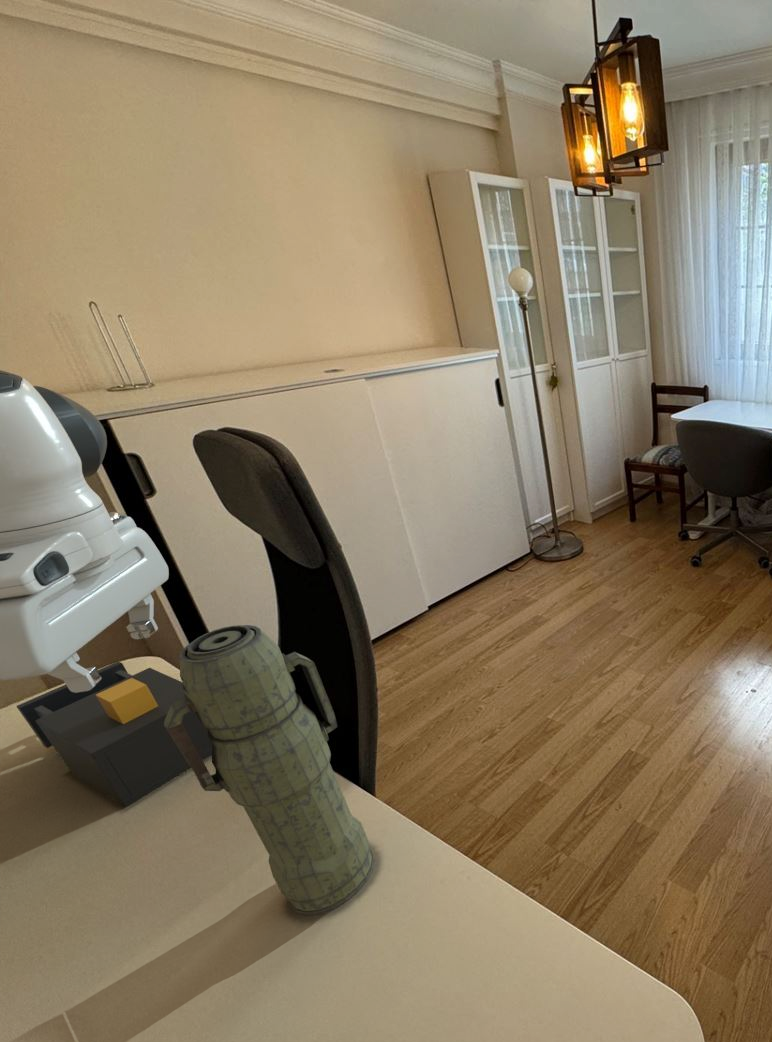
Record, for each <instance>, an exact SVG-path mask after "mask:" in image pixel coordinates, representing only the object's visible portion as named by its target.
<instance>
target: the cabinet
mask: <svg viewBox="0 0 772 1042" xmlns="http://www.w3.org/2000/svg"><path fill="white" fill-rule="evenodd" d="M131 675H132V674H131ZM130 678H133V679H135V680H137V681H139V682H141V683H144V684H146V685H147V687H148V689H149V690H150V692H151V694H152V696H153V698H154V699H155V701H156V703H157V705H158V707H156V708H154V709H152V710H150V711H148V712H146V713H144V714H143V715H141V716H139V717H137V718H135V719H133V720H131V721H129V722H127V723H125V724H122V723H120V722H118V721H116V720H114V719H112V718H110V717H109V716H108V715H107V713H106V711H105V710H104V708H103V707H102V705H101V703H100V702H99V700H98V698H97V697H96V694H98V693H100V692H102V691H105V690H107V689H109V688H111V687H113V686H115V685H118V684H120V683H122V682H124V681H126V680H128V679H130ZM184 696H185V692H184V690H183V682H182V680H181V681H180V680H179V679H177V678H174V677H172V676H169V675H167V674H165V673H163V672H161V671H158V670H156V669H154V668H152V667H148V668H146V669H143V670H141V671H139V672H136V673H135V674H133V675H132V676H130V677H128V678H126V679H124V680H122V681H119V682H117V683H115V684H113V685H111V686H109V687H106V688H104V689H102V690H100V691H98V692H96V693H94V694H91V695H89V696H87V697H85V698H83V699H81V700H78V701H76V702H74V703H72V704H70V705H68V706H65V707H63V708H61V709H59V710H57V711H55V712H52V713H50V714H48V715H46V716H44V717H42V718H39V719H37V720H35V721H36V723H37V724H38V725H39V727H40V728H41V730H42V731H43V733H44V734H45V736H46V737H47V738H48V740H49V741H50V743H51V744H52V746H51V747H53V749H54V750H55V751H56V753H57V754H58V757H60V759H61V760H62V761H63V764H64V765H65V766H66V767H67V769H68V770H69V772H71V773H72V774H74V775H75V776H76V777H78V778H80V779H81V780H83V781H85V782H86V783H87V784H89V785H90V786H93V787H94V788H96V789H97V790H98V791H100V792H102V793H103V794H105V795H107V796H108V797H110V798H111V799H113V800H114V801H116V802H117V803H119V804H120V805H122V806H123V807H125V808H127V807H128V806H130V805H132V804H133V803H135V802H137V801H138V800H140V799H141V798H143V797H145V796H147V795H148V794H150V793H151V792H153V791H154V790H156V789H158V788H159V787H162V786H163V785H164V784H167V782H170V781H171V780H173V779H174V778H176V777H177V776H179V775H181V774H183V773H184V772H186V771H187V770H189V769H192V768H191V767H190V765H189V763H188V762H187V760H186V759H185V757H184V756H183V754H182V753H181V751H180V749H179V748H178V746H177V745H176V743H175V742H174V740H173V738H172V737H171V735H170V734H169V732H168V731H167V729H166V727H165V726H164V720H165V718H166V716H167V713H168V711H169V709H170V707H171V704H172V703H174V702H175V701H177V700H179V699H181V698H182V697H184ZM182 725H183V726H184V728H185V730H186V732H187V734H188V735H189V737H190V739H191V741H192V742H193V744H194V746H195V748H196V750H197V751H198V753H199V755H200V757H201V759H202V760H203V761H204V760H205V759H207V758H208V757H210V756H212V743H211V741H210V739H209V738H208V729H207V728H205V727H204V726H203V725H202V724H201V722H200V720H199V719H198V717H197V715H196V713H194V712H193V711H190V712H188V713H186V714H184V717H183V721H182Z"/></svg>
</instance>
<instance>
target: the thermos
mask: <svg viewBox="0 0 772 1042" xmlns="http://www.w3.org/2000/svg"><path fill="white" fill-rule="evenodd" d="M298 665H300V666H301V669H302V670H303V674H304V676H305V678H306V681H307V684H308V685H309V688H310V691H311V693H312V695H313V698H314V700H315V703H316V705H317V708H318V710H319V712H320V715H321V717H322V719H323V721H320V720H319V719H318V717H317V715H316V712H314V711H313V710H312V709H310V708H309V707H308V706H307V705H306V704H305V703H304V702H303V700H302V698H301V696H300V694H298V692H296V690H297V688H296V685H295V682H294V679H293V677H292V674H291V673H292V672H294V671H296V668H295V667H296V666H298ZM179 677H180V680H181V682H183V690H184V692H185V696H184V697H182V698H181V699H179V700H177V701H175V702H174V703H172V704H171V707H170V709H169V711H168V713H167V716H166V718H165V720H164V726H165V727H166V729H167V731H168V732H169V734H170V735H171V737H172V738H173V740H174V742H175V743H176V745H177V746H178V748H179V749H180V751H181V753H182V754H183V756H184V757H185V759H186V760H187V762H188V763H189V765H190V767H191V768H190V769H191V770H192V772H193V773H194V775H195V777H196V780H197V781H198V783H199V785H200V787H201V788H202V789H203V790H204V792H220V791H222V790H225V792H226V793H228V795H229V797H230V798H231V799H232V800H233V802H235V803H236V805H239V806H241V807H243V809H244V811H245V812H246V814H247V816H248V819H249V820H250V822H251V824H252V826H253V827H254V829H255V831H256V833H257V835H258V837H259V839H260V841H261V842H262V844H263V846H264V849H265V850H266V852H267V853H268V864H269V868H270V872H271V875H272V877H273V879H274V881H275V883H276V885H277V887H278V888H279V890H280V893H281V894H282V895H283V896H284V897H285V898H286V899H287V900H288V901H289V905H290V907H291V908H292V909H293V910H294V911H295V912H296V913H298V914H300V915H304V916H316V915H321V914H324V913H327V912H330V911H332V910H334V909H337V908H338V907H339V906H342V905H343V904H345V903H347V902H348V901H350V900H351V898H353V897H354V896H356V894H357V893H358V892H360V890H361V889H362V888H363V887H364V886H365V884H366V883H367V882H368V880H369V878H370V877H371V874H372V873H373V870H374V865H375V858H374V855H373V852H372V850H371V849H370V847H371V844H370V841H369V838H368V835H367V834H366V830H365V828H364V826H363V824H362V821H360V820H359V819H358V818H357V817H355V816H354V815H352V813H351V810H350V808H349V805H348V802H347V800H346V798H345V796H344V794H343V791H342V789H341V786H340V784H339V781H338V778H337V776H336V775H335V772H334V770H333V767H332V765H331V763H330V762H331V757H332V753H331V750H330V746H329V744H328V742H329V740H330V738H329V735H328V734H329V733H331V732H332V731H334V730H335V729H337V728H338V722H337V718H336V715H335V712H334V709H333V706H332V703H331V701H330V699H329V696H328V694H327V692H326V689H325V686H324V684H323V681H322V679H321V676H320V674H319V671H318V669H317V666H316V663H315V662H314V661H313V660H311V659H310V658H309V657H307V656H305V655H303V654H300V653H298V652H296V651H292V652H291V653H289V654H285V653H284V652H283V653H282V651H281V649H280V646H279V645H278V644H277V643H276V642H275V641H274V640H273V639H272V638H271V637H270V636H269V635H268V634H266V633H265V632H264V631H263V630H262V629H261V628H259V627H258V626H256V625H249V624H243V625H241V624H239V625H230V626H224V627H220V628H218V629H214V630H211V631H209V632H206V633H204V634H202V635H200V636H198V637H197V638H196V639H194V640H193V641H191V642H190V643H188V644H187V645H185V646H184V648H183V649H182V650H181V651H180V652H179ZM190 711H193V712H194V713H196V715H197V717H198V719H199V720H200V722H201V724H202V725H203V726H204V727H205V728H207V729H208V738H209V739H210V741H211V743H212V755H211V763H212V766H213V767H214V769H215V773H214V774H211V773H210V771H209V769H208V768H207V766H206V763H205V762H204V760H202V759H201V757H200V755H199V753H198V751H197V750H196V748H195V746H194V744H193V742H192V741H191V739H190V737H189V735H188V734H187V732H186V730H185V728H184V726H183V725H182V721H183V717H184V714H186V713H188V712H190Z"/></svg>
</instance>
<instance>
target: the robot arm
mask: <svg viewBox="0 0 772 1042" xmlns="http://www.w3.org/2000/svg"><path fill="white" fill-rule="evenodd" d="M107 438H108V436H107V433H106V430H105V428H104V426H103V425H102V423H101V421H100V420H99V419H98V417H96V416H95V415H94V414H93V413H92V412H91V411H90V410H89V409H87V408H86V407H84V406H83V405H82V404H80V403H78V402H76V401H75V400H73V399H71V398H69V397H67V396H65V395H63V394H60V393H58V392H56V391H54V390H52V389H51V390H50V389H48V388H46V387H43V386H39V385H33V384H32V383H30V382H29V381H28V380H27V379H26V378H24V377H22V376H20V375H18V374H14V373H12V372H8V371H5V370H1V369H0V681H5V682H6V681H15V680H22V679H29V678H35V677H41V676H46V675H49V676H50V677H53V678H56V679H59V680H61V681H63V683H64V685H65V684H66V685H67V687H68V689H69V690H70V691H71V692H75V693H78V692H84V691H89V690H91V689H92V688H93V687H95V686H96V685H97V684H98V683H99V682H100V681H101V680H102V677H101V676H100V675H99V672H98V670H99V669H97V667H96V666H92V667H87V668H85V667H83V666H81V664H79V663H78V662H79V661H80V660H81V658H80V656H79V654H78V651H79V650H81V649H82V648H83V647H85V646H86V645H87V644H88V643H89V642H91V641H92V640H93V639H95V638H96V637H97V636H99V635H100V634H101V633H102V632H104V631H105V630H106V629H107V628H109V627H110V626H111V625H113V624H114V623H115V622H116V621H117V620H118V619H120V618H121V617H122V616H124V615H125V614H126V613H128V619H129V624H128V625H127V626H125V628H126V630H127V632H128V633H130V637H131V638H132V639H133V640H142V639H149V638H150V637H152V635H154V634H156V632H157V631H158V630H159V627H158V625H157V623H156V621H155V619H154V615H155V613H154V612H155V611H154V610H155V609H154V608H155V607H154V605H155V600H154V598H153V596H152V594H151V593H153V592H154V591H155V590H157V589H158V588H159V587H161V586H163V584H164V583H166V582H167V581H168V580H169V576H170V573H169V572H170V571H169V566H168V564H167V562H166V560H165V559H164V557H163V555H162V553H161V552H160V550H159V549H158V547H157V546H156V544H155V542H154V541H153V540H152V538H151V537H150V536H149V534H148V533H147V532H146V531H145V530H143V528H141V527H138V526H137V524H136V523H135V520H134V519H133V518H132V517H131V516H127V515H126V514H124V513H121V512H118V511H111V512H109V511H108V510H107V508H106V506H105V503H104V502H103V500H102V498H101V497H100V496H99V495H98V494H97V493H96V492H95V491H94V490H93V489H92V488H91V487H90V485H89V484H88V483H87V480H86V478H88V477H92V476H93V475H95V474H96V473H97V472H98V471H99V469H100V467H101V465H102V463H103V461H104V459H105V455H106V453H107V448H108V439H107Z"/></svg>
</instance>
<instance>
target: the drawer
mask: <svg viewBox="0 0 772 1042" xmlns="http://www.w3.org/2000/svg"><path fill="white" fill-rule="evenodd" d="M97 670H98V672H99V675H100V676H101V677H102V680H101V681H100V682H99V683H98V684H97V685H96V686H95V687H93V688H92V689H91V690H89V691H84V692H78V693H75V692H71V691H70V690H69V689H68V687H67V685H66V684H65V683H64V684H63V685H61V686H58V687H57V688H54V689H52V690H50V691H48V692H45V693H42V694H40V695H37V696H36V697H33V698H31V699H29V700H26V701H25V702H22V703H20V704H17V705H16V708H17V710H18V711H19V712H20V714H21V715H22V717H23V718H24V720H25V722H27V724H28V726H29V727H30V729H31V730H32V731H33V732H34V734H35V735H36V737H37V738H38V740H39V741H40V742H41V744H42V745H43V747H45V748H47V749H49V748H51V747H53V746H52V744H51V743H50V741H49V740H48V738H47V737H46V736H45V734H44V733H43V731H42V730H41V728H40V727H39V725H38V724H37V723H36V721H35V720H37V719H39V718H42V717H44V716H46V715H48V714H50V713H52V712H55V711H57V710H59V709H61V708H63V707H65V706H68V705H70V704H72V703H74V702H76V701H78V700H81V699H83V698H85V697H87V696H89V695H91V694H94V693H96V692H98V691H100V690H102V689H104V688H106V687H109V686H111V685H113V684H115V683H117V682H119V681H122V680H124V679H126V678H128V677H130V676H132V674H130V673H128V671H127V669H126V667H125V666H124V664H123V662H121V661H115V662H113V663H112V664H109V665H107V666H105V667H102V668H100V669H97Z"/></svg>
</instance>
